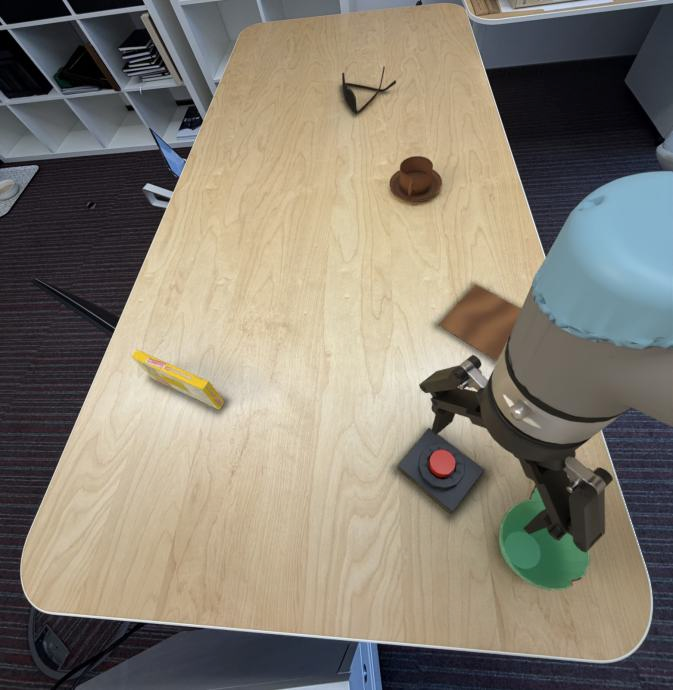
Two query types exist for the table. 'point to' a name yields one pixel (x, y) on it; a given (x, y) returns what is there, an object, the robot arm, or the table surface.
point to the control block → (438, 488)
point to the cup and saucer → (415, 180)
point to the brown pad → (482, 321)
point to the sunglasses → (350, 95)
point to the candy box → (179, 379)
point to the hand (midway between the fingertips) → (485, 471)
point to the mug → (539, 549)
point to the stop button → (442, 463)
